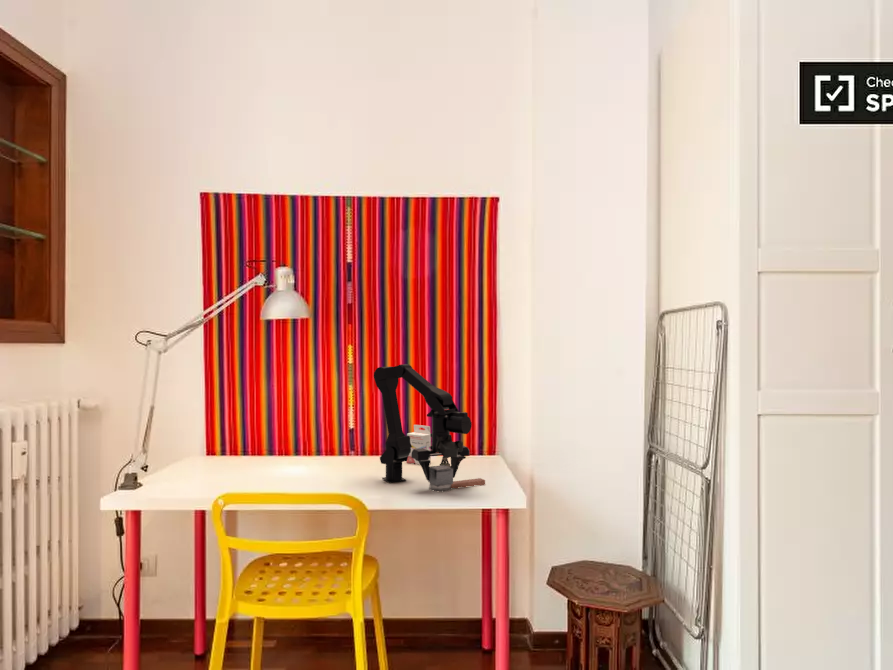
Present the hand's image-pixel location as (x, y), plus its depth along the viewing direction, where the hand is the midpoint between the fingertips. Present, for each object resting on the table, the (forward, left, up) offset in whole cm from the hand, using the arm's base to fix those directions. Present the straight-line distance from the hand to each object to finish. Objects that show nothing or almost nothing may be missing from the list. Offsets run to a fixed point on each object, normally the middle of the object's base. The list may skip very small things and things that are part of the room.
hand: (440, 479), depth 205 cm
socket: (0, 0, -1) cm, 1 cm away
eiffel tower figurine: (-23, +14, -4) cm, 27 cm away
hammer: (0, +6, -3) cm, 7 cm away
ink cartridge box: (-41, +11, -3) cm, 43 cm away
